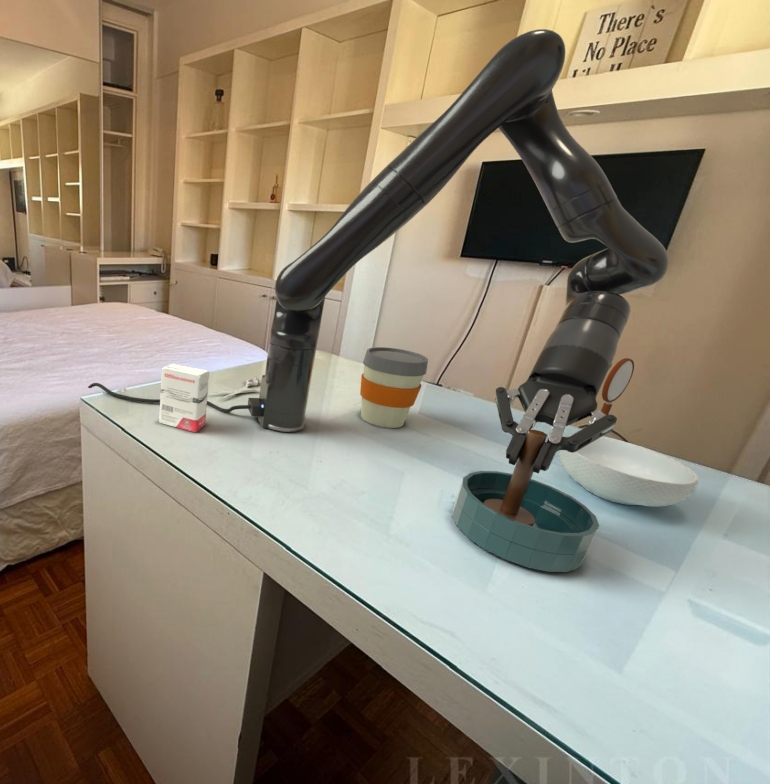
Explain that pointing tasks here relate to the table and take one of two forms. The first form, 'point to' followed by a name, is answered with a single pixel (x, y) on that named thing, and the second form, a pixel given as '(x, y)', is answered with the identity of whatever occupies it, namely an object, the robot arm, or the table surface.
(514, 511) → the wooden peg stand
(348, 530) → the table surface
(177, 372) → the ink box
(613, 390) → the magnifying glass
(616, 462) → the cereal bowl
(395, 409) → the reusable coffee cup
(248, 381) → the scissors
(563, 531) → the mixing bowl
